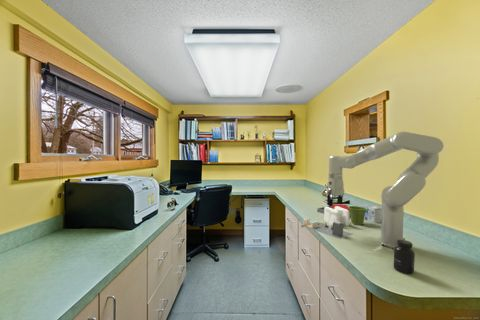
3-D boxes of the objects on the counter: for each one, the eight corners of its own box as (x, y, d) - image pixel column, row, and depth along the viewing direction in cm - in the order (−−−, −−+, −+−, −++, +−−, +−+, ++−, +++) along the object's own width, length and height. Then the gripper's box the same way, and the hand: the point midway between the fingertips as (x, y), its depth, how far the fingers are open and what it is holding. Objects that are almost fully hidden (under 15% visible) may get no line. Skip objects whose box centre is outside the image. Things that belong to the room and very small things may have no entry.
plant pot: (362, 221, 153) (362, 206, 153) (369, 226, 141) (370, 210, 141) (345, 220, 155) (345, 205, 155) (351, 225, 143) (351, 209, 143)
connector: (342, 235, 121) (343, 222, 121) (338, 236, 119) (339, 223, 119) (336, 233, 124) (336, 220, 124) (332, 234, 122) (332, 221, 122)
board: (353, 236, 123) (353, 228, 123) (339, 241, 116) (339, 232, 116) (314, 223, 146) (314, 216, 146) (301, 227, 138) (301, 220, 138)
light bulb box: (361, 218, 160) (362, 204, 160) (368, 218, 162) (369, 204, 162) (374, 223, 150) (375, 208, 149) (381, 222, 152) (382, 207, 151)
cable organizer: (350, 228, 138) (350, 210, 138) (336, 228, 136) (336, 211, 136) (336, 221, 152) (336, 205, 152) (323, 221, 151) (323, 205, 150)
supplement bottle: (391, 270, 86) (392, 241, 86) (394, 264, 91) (395, 237, 91) (413, 277, 81) (414, 246, 81) (415, 270, 86) (416, 241, 86)
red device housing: (352, 215, 166) (352, 209, 166) (333, 214, 169) (333, 208, 169) (345, 210, 184) (345, 204, 184) (328, 209, 187) (328, 203, 187)
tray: (362, 213, 174) (363, 210, 174) (344, 218, 159) (344, 214, 159) (336, 207, 194) (336, 204, 194) (317, 211, 179) (317, 208, 179)
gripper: (332, 177, 118) (331, 207, 118) (349, 176, 127) (349, 204, 127) (320, 176, 124) (320, 204, 124) (338, 175, 133) (337, 202, 133)
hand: (334, 204), depth 126 cm, fingers open, 9 cm apart
